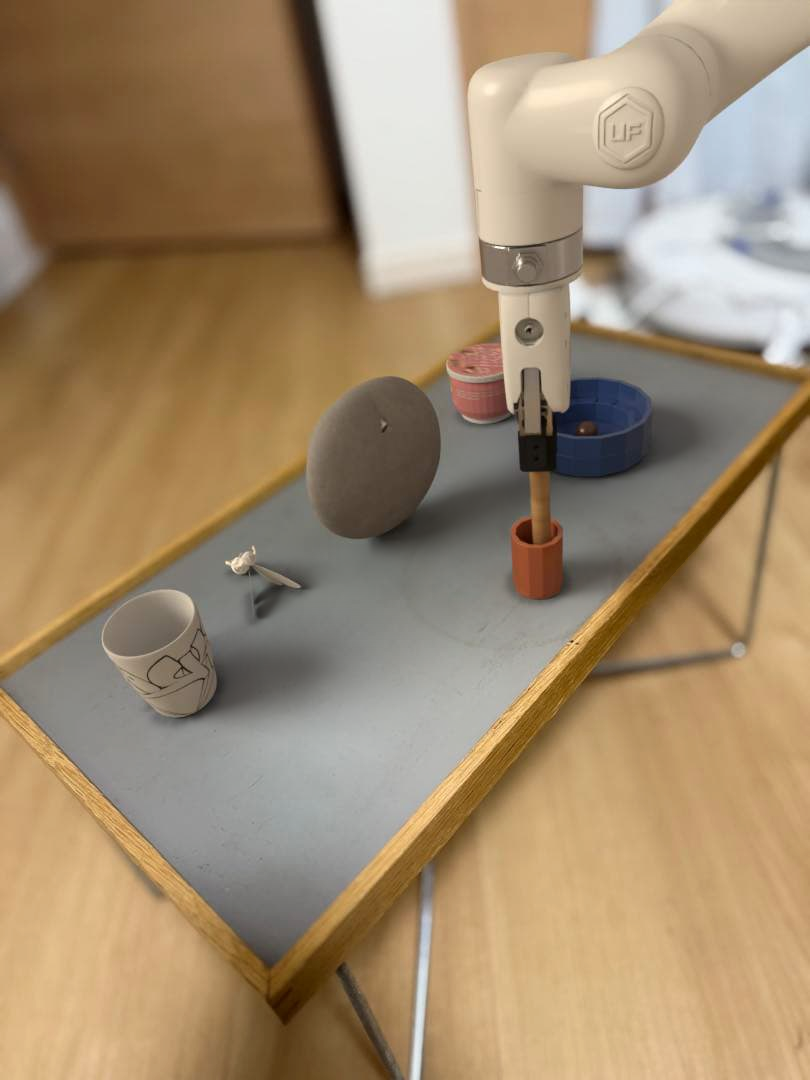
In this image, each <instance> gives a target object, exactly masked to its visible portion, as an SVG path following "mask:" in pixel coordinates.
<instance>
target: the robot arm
mask: <svg viewBox="0 0 810 1080" xmlns="http://www.w3.org/2000/svg"><path fill="white" fill-rule="evenodd" d="M809 47H810V0H674V1H673V2H672V3H671V4H670V5H668V6H667V7H666V8H665V9H664V10H663V11H662V12H661V13H660V14H658V15H657V17H655V18H654V19H653V20H652V21H651V22H650V23H649V24H648V25H646V26H645V27H644V28H643V29H642V30H640V32H639V33H637V34H636V35H635V36H633V37H632V38H630V39H628V40H627V41H626V42H625V43H624V44H622V45H621V46H620V47H617V48H615V49H613V50H611V51H610V52H608V53H607V52H606V53H604V54H601V55H597V56H594V57H590V58H584V59H581V60H578V59H577V58H576V57H575V56H574V55H573V54H570V53H567V52H563V51H541V52H531V53H526V54H521V55H519V54H518V55H515V56H509V57H505V58H502V59H499V60H495V61H492V62H489V63H487V64H485V65H483V66H481V67H480V68H478V69H477V70H476V71H475V72H474V74H472V76H471V78H470V80H469V83H468V87H467V95H466V96H467V97H466V98H467V99H466V100H467V115H468V127H469V139H470V150H471V151H470V153H471V162H472V174H473V187H474V199H475V200H474V201H475V209H476V224H477V235H478V244H479V245H478V247H479V257H480V269H481V282H482V285H483V286H484V287H486V288H487V289H488V290H491V291H494V292H497V298H498V317H499V331H500V332H499V333H500V334H499V335H500V344H501V348H502V361H503V373H504V383H505V392H506V401H507V407H508V410H509V411H510V412H511V413H512V414H511V415H516V413H518V428H519V429H518V430H517V443H518V459H519V460H518V461H519V470H520V471H521V472H522V473H529V472H549V473H550V472H552V473H553V472H554V471H555V470H556V466H557V461H556V454H557V414H552V413H554V412H560V411H561V413H564V412H565V411H566V410H567V409H568V408H569V403H570V379H572V378H571V375H572V374H571V373H572V371H571V370H572V368H571V367H572V363H571V362H572V361H571V359H572V357H571V356H572V354H571V353H572V349H571V347H572V345H571V344H572V340H571V339H572V337H571V336H572V330H571V329H572V328H571V327H572V326H571V325H572V321H571V319H572V318H571V316H572V315H571V314H572V313H571V290H570V284H571V283H574V282H575V281H576V280H578V279H579V278H580V277H581V276H582V274H583V271H584V186H588V187H595V188H602V189H611V190H635V189H640V188H641V189H642V188H645V187H648V186H652V185H654V184H657V183H658V182H660V181H662V180H663V179H665V178H667V177H668V176H669V175H671V174H672V173H674V172H675V171H676V170H677V169H678V168H679V167H680V166H681V165H682V164H683V162H684V161H685V160H686V158H687V157H688V156H689V154H690V153H691V151H692V150H693V147H694V146H695V144H696V142H697V140H698V139H699V137H700V134H701V133H702V131H703V129H704V127H705V126H706V125H707V124H709V123H710V122H711V121H712V120H713V119H715V118H716V117H717V116H718V115H719V114H721V113H722V112H724V110H726V109H727V108H729V107H730V106H731V105H732V104H734V103H735V102H736V101H737V100H740V98H741V97H743V96H744V95H745V94H747V93H748V92H749V91H751V90H752V89H753V88H754V87H756V86H757V85H758V84H759V83H761V82H762V81H763V80H765V79H766V78H767V77H769V76H770V75H771V74H772V73H774V72H775V71H777V70H778V69H779V68H781V67H782V66H783V65H785V64H786V63H787V62H789V61H790V60H791V59H793V58H794V57H796V56H797V55H799V54H800V53H802V51H804V50H806V49H807V48H809ZM541 412H545V415H546V419H545V416H544V415H543V416H541Z"/></svg>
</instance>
